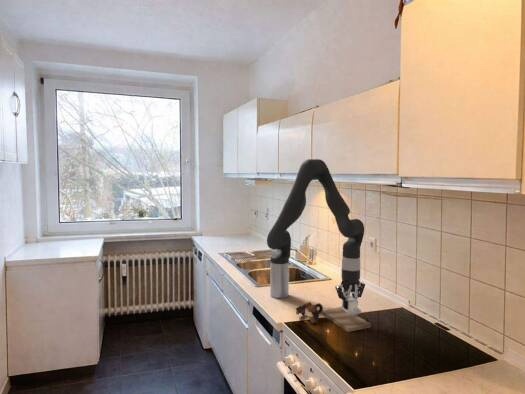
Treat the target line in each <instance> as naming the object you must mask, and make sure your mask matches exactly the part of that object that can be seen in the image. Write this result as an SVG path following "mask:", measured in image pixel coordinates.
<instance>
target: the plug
mask: <svg viewBox="0 0 525 394" xmlns="http://www.w3.org/2000/svg"><path fill="white" fill-rule="evenodd" d="M341 308H342V309H343V310H345V311H346V312H347V313H348V314H349V315H352V316H358V314H361V313H362V310H361V309H360V308H359V300H358V299H357V300H356V299H355V298H353V297H352V294H350V296H349V298H348V309H347V310H346V309H345V308H344V307H343V300H342V299H341Z"/></svg>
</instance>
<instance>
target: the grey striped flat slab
mask: <svg viewBox="0 0 525 394" xmlns="http://www.w3.org/2000/svg"><path fill="white" fill-rule="evenodd" d="M320 315H322V316H323V317H325V318H326V319H328V320H329V321H331V322H332V323H334V324H335V325H337V326H338V327H340V328H342V329H343V330H344V331H346V332H347V333H351V332H354V331H355V332H356V331H359V330H365V329H369V328H371V327H372V324H371V323H370V322H368V321H367V320H365V319H363V318H362V317H360V316H358V315H356V316H352V315H349V314H348V313H347V312H346V311H345V310H343V309H342V308H341V307H340V306H339V307H335V308H328V309H323V311H322V312H321V314H320Z"/></svg>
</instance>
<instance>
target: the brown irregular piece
mask: <svg viewBox="0 0 525 394" xmlns="http://www.w3.org/2000/svg"><path fill="white" fill-rule="evenodd" d="M306 310H307V311H308V312H309V313H311V315H312V317H309V319H308V320H309V322H310V324H311V323H312V324H314V323H316V322H318V321H319V320H320V315H322V314H321V312H322V311H323V310H324V306H323V304H321V303H319V302H318V303H316V304H312V302H311V301H308V302H306V303H304V304H303V303H302V305H299V306H297V307H296V308H295V311H296V312H295V314H296V315H297V316H299V315H300V314H301V315H302V316H304V315H306Z"/></svg>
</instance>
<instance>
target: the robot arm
mask: <svg viewBox="0 0 525 394" xmlns="http://www.w3.org/2000/svg"><path fill="white" fill-rule="evenodd" d="M312 181H318V182H319V183H320V185H321V186H322V188H323V190H324V195H325V196H324V197H325V202H326V204H327V207H328V208H329V210H330V212H331V214H332V215H333V216H334V218H335V223H336V225H337V228H338V232H339V233H340V234H341V236H343V237H345V238H347V241H345V242H344V243H343V244H342V259H341V282H340V284H339V285H335V290H336V293H337V296H338V298H339V299H340V300H341V301H342V300H343V307H344V308H345V309H346V310H347V309H348V298H349V296H350V295H351V296H352V297H353V298H355V299H356V300H357V301H358V299H359V298H362V296H363V292H364V291H365V287H366V283H363V282H362V281H360V279H361V265H362V264H361V246H362V243H363V239H364V236H365V226H364V223H363V221H362V220H360V219H359V218H352V219H350V216H349V215H350V213H351V210H350V206H349V205H348V204H347V202H346V201H345V199H344V198H343V196H342V195H341V193H340V192H339V190H338V188H337V186H336V183H335V181H334V178H333V176H332V175H331V172H330V169H329V167H328V165H327V163H326V162H325V161H323V159H320V158H309V159H304V160H303V162H302V163H301V165H300V167H299V169H298V172H297V175H296V178H295V181H294V183H293V185H292V188H291V190H290V193H289V194H288V196H287V198H286V200H285V202H284V204H283V207H282V208H281V211H280V214H279V216H278V217H277V220H276V221H275V223H274V225H273V226H272V227H271V229H270V231H269V232H268V234H267V237H266V244H267V247H268V248H269V250H270V249H271V250H276V251H275V252H274V253H273V254H272V255H271V256H270V259H269V260H270V262H269V263H270V264H269V265H270V266H269V267H270V275H269V276H270V279H269V281H270V282H269V283H270V285H269V286H270V292H269V293H270V297H272V298H275V299H286V298H287V297H289V293H290V292H289V289H290V288H289V287H290V275H289V273H290V269H289V267H290V262H289V261H290V258H291V248H292V237H291V234H290V232H289V231H288V229H289V228H290V227H291V226H293V224H294V223H296V221H298V220H299V219H300V217H302V215H303V212H304V210H305V207H306V205H307V198H306V197H307V196H306V192H307V190H308V187H309V185H310V183H311V182H312Z"/></svg>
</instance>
